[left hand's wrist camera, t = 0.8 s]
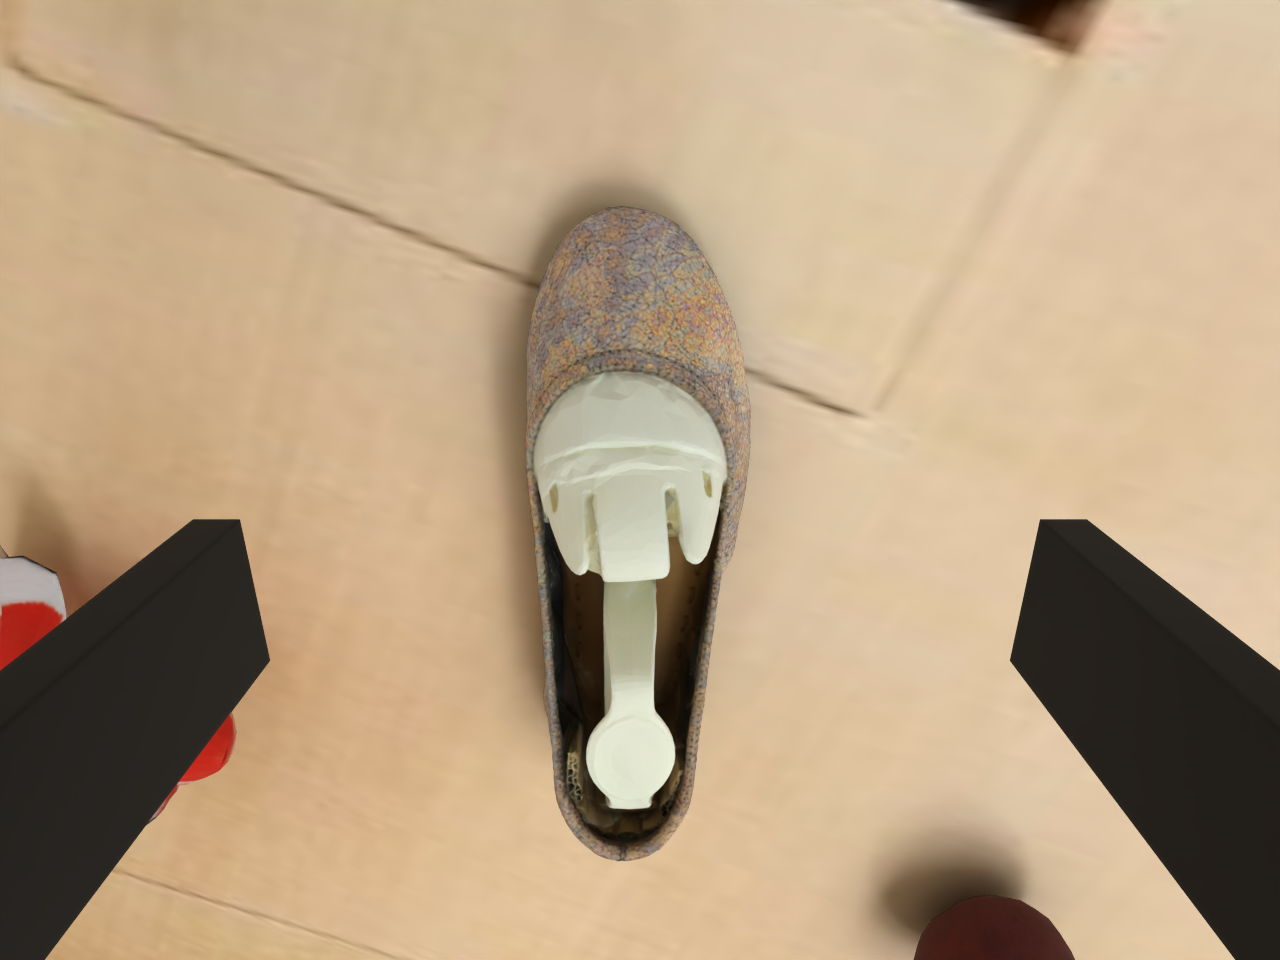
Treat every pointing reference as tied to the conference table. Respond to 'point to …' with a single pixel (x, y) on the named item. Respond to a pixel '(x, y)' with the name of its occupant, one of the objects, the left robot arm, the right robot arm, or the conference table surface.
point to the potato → (991, 933)
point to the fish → (33, 606)
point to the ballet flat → (631, 515)
